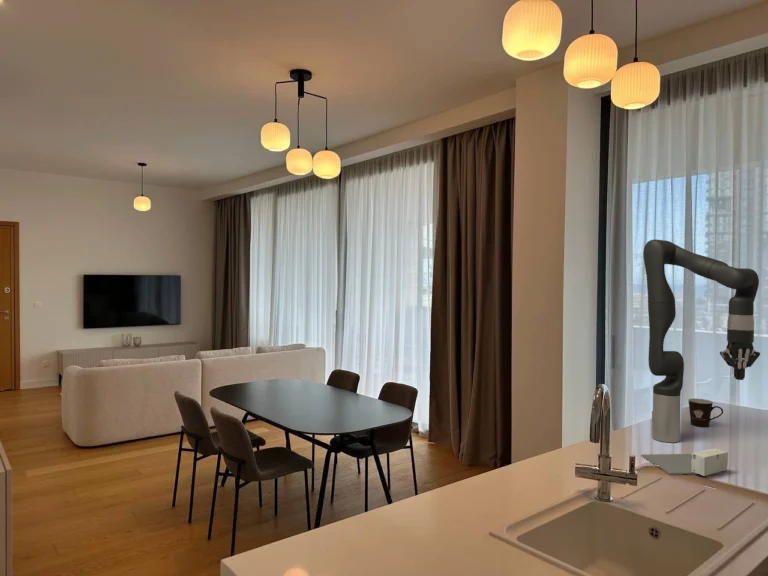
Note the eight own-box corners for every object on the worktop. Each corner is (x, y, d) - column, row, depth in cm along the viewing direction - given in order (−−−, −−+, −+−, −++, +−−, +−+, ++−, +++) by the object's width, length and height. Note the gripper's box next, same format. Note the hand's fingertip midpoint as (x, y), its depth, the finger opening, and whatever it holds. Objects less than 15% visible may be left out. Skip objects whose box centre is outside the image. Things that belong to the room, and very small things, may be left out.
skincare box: (727, 470, 171) (705, 477, 166) (713, 465, 175) (690, 472, 170) (728, 451, 171) (705, 457, 165) (713, 446, 175) (691, 453, 169)
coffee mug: (683, 423, 225) (683, 399, 225) (696, 421, 229) (697, 397, 228) (710, 431, 215) (710, 406, 214) (724, 428, 218) (724, 403, 218)
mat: (641, 456, 186) (641, 454, 186) (689, 455, 186) (689, 453, 186) (669, 475, 169) (669, 473, 169) (722, 474, 170) (722, 472, 169)
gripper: (751, 326, 186) (750, 377, 186) (713, 326, 185) (712, 377, 186) (768, 329, 178) (766, 381, 179) (728, 329, 178) (727, 382, 178)
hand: (739, 379), depth 182 cm, fingers closed
